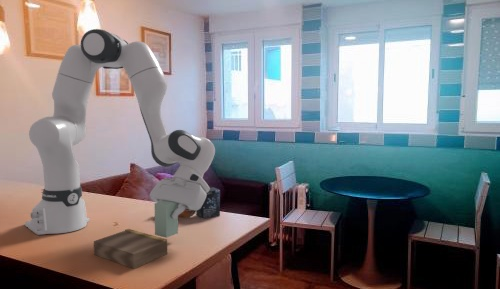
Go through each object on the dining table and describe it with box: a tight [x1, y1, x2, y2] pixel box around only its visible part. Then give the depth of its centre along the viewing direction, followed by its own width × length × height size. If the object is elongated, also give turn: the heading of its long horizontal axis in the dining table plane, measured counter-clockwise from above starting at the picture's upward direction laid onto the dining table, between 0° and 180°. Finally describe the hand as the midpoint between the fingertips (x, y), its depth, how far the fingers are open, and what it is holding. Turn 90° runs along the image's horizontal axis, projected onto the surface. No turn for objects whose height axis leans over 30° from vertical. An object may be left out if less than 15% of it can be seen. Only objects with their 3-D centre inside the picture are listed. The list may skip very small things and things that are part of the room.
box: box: [195, 187, 221, 220], centre depth 144 cm, size 8×6×11 cm
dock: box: [93, 228, 168, 269], centre depth 106 cm, size 17×12×4 cm
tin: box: [178, 208, 196, 219], centre depth 143 cm, size 15×3×8 cm, turn 69°
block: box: [154, 201, 179, 239], centre depth 116 cm, size 5×5×10 cm
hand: (164, 216), depth 115 cm, fingers closed on block, 5 cm apart
